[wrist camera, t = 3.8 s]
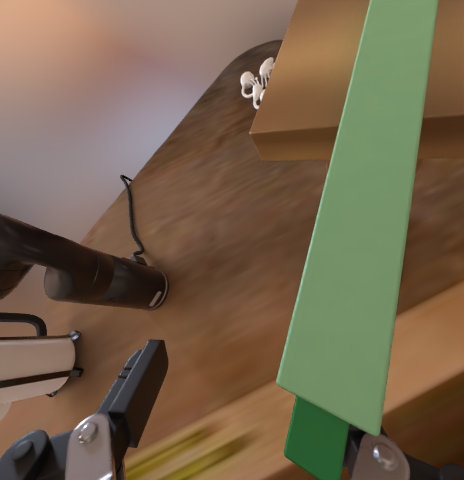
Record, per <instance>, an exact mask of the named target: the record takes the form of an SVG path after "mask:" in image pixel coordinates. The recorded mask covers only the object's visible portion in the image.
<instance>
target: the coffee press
mask: <svg viewBox="0 0 464 480" xmlns="http://www.w3.org/2000/svg"><path fill="white" fill-rule="evenodd" d="M0 322H26V323H30V324H32V325H34V326H35V327H36V330H37V336H32V337H0V404H3V403H8V402H13V401H17V400H22V399H26V398H30V397H35V396H39V395H44V394H46V395H48V396H49V397H53V396H54V395H55V394H56V393H57V390H58V389H59V388H60V387H61V386H63V384H64V383H65V382H66V381H67V379H68V378H69V377H81V375H82V372H83V369H82V368H76V367H74V362H75V347H74V344H73V342H74V341H75V340H76V339H77V338H78V337H79V336H80V335H81V333H80V332H78V331H73V332H72V333H70V334H68V335H63V336H47V329H46V325H45V323H44V321H43V320H42V319H41V318H39V317H37V316H35V315H30V314H19V313H0ZM76 333H77V335H76V336H74V337H73V338H72V339H69V338H68V337H71V336H73V335H74V334H76ZM48 393H51V394H48Z"/></svg>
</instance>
